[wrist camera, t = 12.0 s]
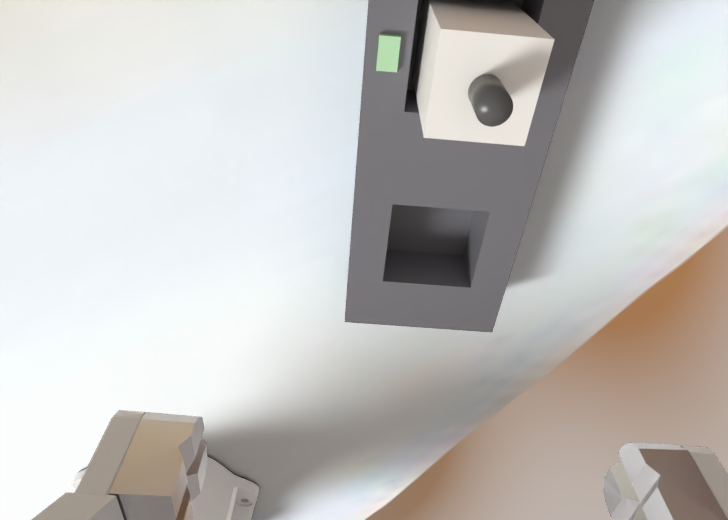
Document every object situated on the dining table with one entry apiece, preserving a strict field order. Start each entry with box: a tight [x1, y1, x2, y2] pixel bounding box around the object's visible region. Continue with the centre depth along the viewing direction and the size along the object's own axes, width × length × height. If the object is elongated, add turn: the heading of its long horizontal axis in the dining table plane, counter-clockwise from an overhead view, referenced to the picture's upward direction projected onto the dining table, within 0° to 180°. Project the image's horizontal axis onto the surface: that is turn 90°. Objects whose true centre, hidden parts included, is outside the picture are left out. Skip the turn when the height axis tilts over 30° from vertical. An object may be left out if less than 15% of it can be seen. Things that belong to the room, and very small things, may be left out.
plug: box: [413, 0, 555, 146], centre depth 24 cm, size 4×4×10 cm
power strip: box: [345, 0, 594, 332], centre depth 29 cm, size 24×10×5 cm, turn 176°
